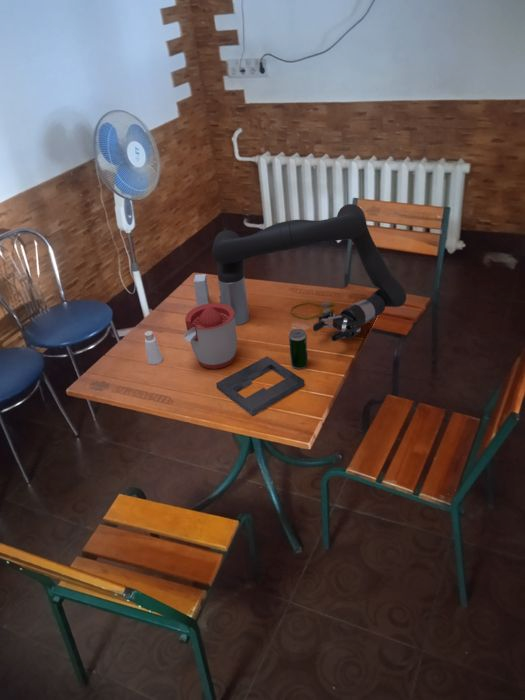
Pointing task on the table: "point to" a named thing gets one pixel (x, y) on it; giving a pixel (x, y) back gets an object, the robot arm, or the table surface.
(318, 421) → the table surface
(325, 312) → the extension cord
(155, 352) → the pepper shaker
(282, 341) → the table surface
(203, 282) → the skincare box
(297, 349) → the green drink can
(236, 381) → the keyhole plate
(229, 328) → the citrus juicer
